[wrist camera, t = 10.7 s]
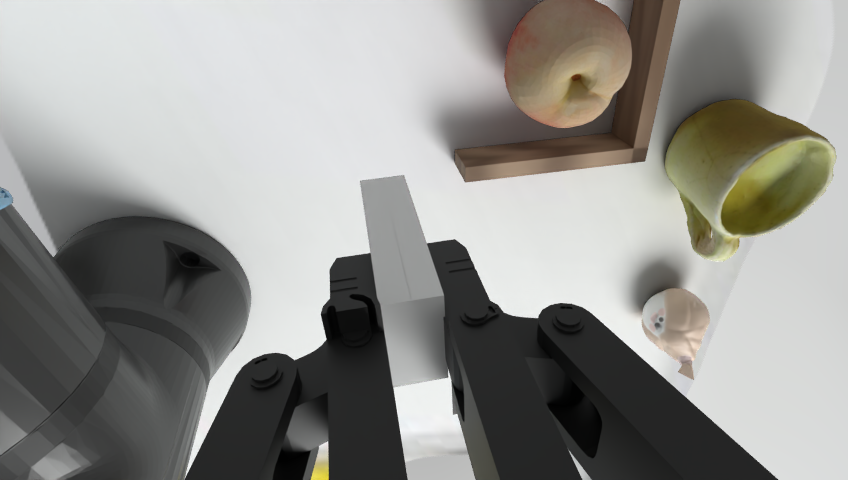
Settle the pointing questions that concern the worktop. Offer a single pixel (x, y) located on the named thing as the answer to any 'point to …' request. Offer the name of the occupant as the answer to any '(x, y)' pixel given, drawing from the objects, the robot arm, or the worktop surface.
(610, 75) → the fruit
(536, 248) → the worktop surface
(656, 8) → the wooden frame
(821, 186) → the mug
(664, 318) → the garlic bulb
